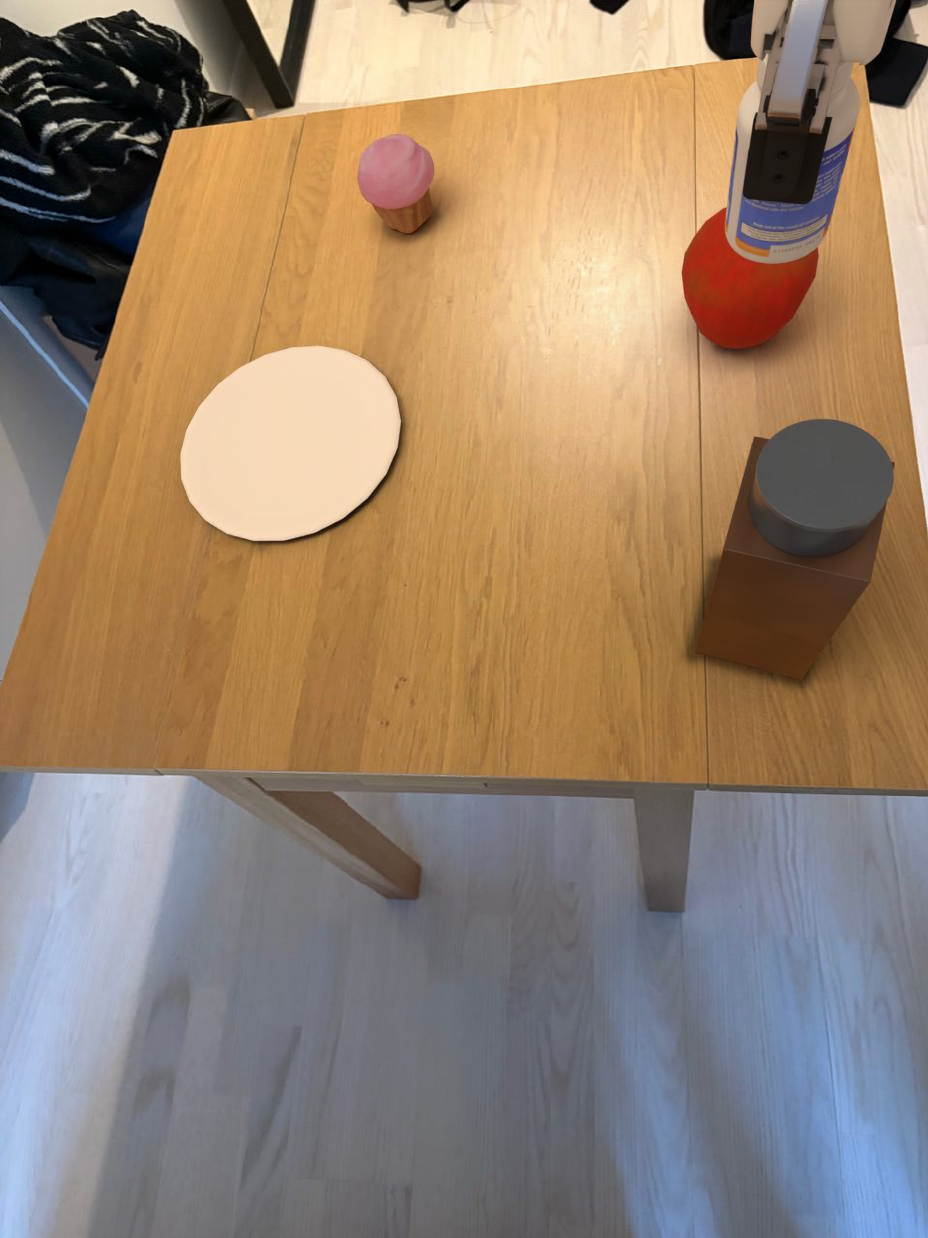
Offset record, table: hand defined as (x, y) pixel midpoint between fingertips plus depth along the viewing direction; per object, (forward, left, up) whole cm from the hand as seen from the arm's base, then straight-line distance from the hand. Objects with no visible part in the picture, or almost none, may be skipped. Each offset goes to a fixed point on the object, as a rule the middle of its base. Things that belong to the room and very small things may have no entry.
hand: (791, 148), depth 39 cm
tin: (-6, +8, -19) cm, 21 cm away
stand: (-6, +8, -39) cm, 40 cm away
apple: (+3, -23, -39) cm, 45 cm away
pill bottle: (0, 0, -5) cm, 5 cm away
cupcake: (+44, -32, -39) cm, 67 cm away
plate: (+45, +1, -39) cm, 59 cm away
